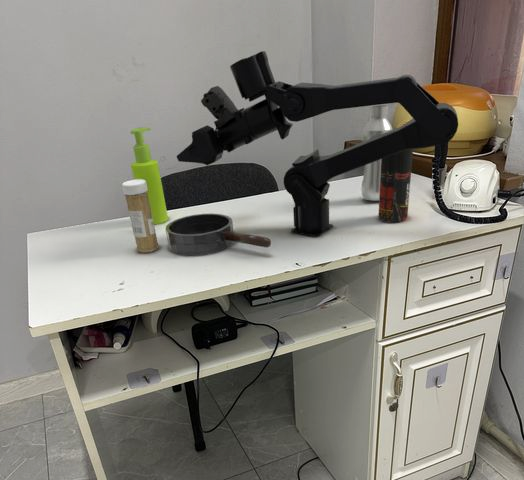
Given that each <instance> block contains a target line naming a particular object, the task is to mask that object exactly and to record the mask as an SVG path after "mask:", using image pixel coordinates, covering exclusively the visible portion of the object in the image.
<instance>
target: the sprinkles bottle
mask: <svg viewBox="0 0 524 480" xmlns="http://www.w3.org/2000/svg"><path fill="white" fill-rule="evenodd" d="M121 187H122V193H123V194H124V197H125V202H126V205H127V211H128V215H129V220H130V224H131V229H132V233H133V236H134V240H135V244H136V250H137V252H139V253H142V254H143V253H151V252H155V251H157V250H158V249H159V248H160V244H159V242H158V237H157V232H156V227H155V224H154V222H153V217H152V212H151V208H150V204H149V199H148V195H147V190H148V189H147V184H146V181H145V180H142V179H136V180H134V179H130V180H127V181H124V182H122V184H121Z"/></svg>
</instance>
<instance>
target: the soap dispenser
mask: <svg viewBox="0 0 524 480" xmlns="http://www.w3.org/2000/svg"><path fill="white" fill-rule="evenodd" d="M151 129H152V127H148V126H146V127H135V128H134V129H132V130H130V134H131V135H134V140H135V144H134V146H133V147H132V149H133V153H134V154H133V155H134V159H135V161H134V162H132V163H130V166H131V171H132V177H133V180H136V179H142V180H145V181H146V184H147V189H148V190H147V195H148V199H149V204H150V208H151V212H152V217H153V222H154V225H160V224H163V223H166V222H167V221H168V220H169V216H168V211H167V204H166V199H165V193H164V187H163V183H162V177H161V172H160V167H159V161H158V160H157V159H152V155H151V150H150V145H149V144H148V143H146V142H145V140H144V135H143V133H144V132H145V131H146V132H147V131H151Z"/></svg>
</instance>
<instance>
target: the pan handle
mask: <svg viewBox="0 0 524 480" xmlns="http://www.w3.org/2000/svg"><path fill="white" fill-rule="evenodd" d="M221 235H222V241H223V242H225V241H227V240H228V241H233V242H234V243H239V244H245V245H251V246H256V247H261V248H270V247H271V245H272V240H271V238H269V237H266V236H261V235H255V234H248V233H242V232H238V231H237V232H236V231H234V232H232V231H230V229H228V230H226V231H224V232H221Z"/></svg>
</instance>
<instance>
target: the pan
mask: <svg viewBox="0 0 524 480" xmlns="http://www.w3.org/2000/svg"><path fill="white" fill-rule="evenodd" d="M228 229H230V231H232V232H235V231H234V230H235V229H234V223H233V218H232V217H230V216H229V215H225V214H222V213H198V214H197V213H196V214H191V215H187V216H183V217H179V218H177V219H176V218H175V219H174V220H172V221H170V222H169V223H168V224H167V225H166V226H165V234H166V239H167V240H166V241H167V245H168V249H169V250H170V251H171V252H172V253H174V254H177V255H180V256H203V255H204V256H205V255H211V254H215V253H218V252H221V251H224V250H225V249H227V248H229V247H231V246H232V245H233V244H234V243H235V242H233V241H228V240H227V241H225V242H223V241H222V235H221V232H224V231H226V230H228Z"/></svg>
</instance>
